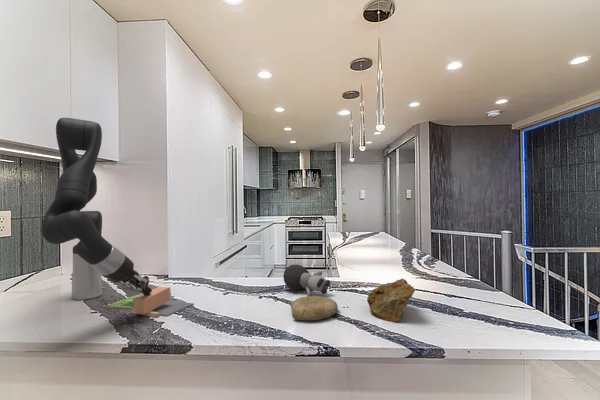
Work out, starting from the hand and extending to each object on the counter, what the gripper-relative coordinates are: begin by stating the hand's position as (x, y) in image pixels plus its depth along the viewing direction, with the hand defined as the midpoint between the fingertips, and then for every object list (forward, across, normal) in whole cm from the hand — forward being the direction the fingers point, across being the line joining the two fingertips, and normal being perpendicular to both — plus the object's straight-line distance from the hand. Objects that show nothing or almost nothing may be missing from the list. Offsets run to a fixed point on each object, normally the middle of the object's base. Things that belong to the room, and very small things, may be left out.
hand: (148, 292), depth 99 cm
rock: (+26, -72, -15) cm, 78 cm away
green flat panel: (+12, +15, -1) cm, 19 cm away
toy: (+33, -40, -22) cm, 57 cm away
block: (0, 0, +5) cm, 5 cm away
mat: (+9, 0, +1) cm, 9 cm away
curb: (+3, 0, +6) cm, 7 cm away
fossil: (+18, -50, -8) cm, 54 cm away
